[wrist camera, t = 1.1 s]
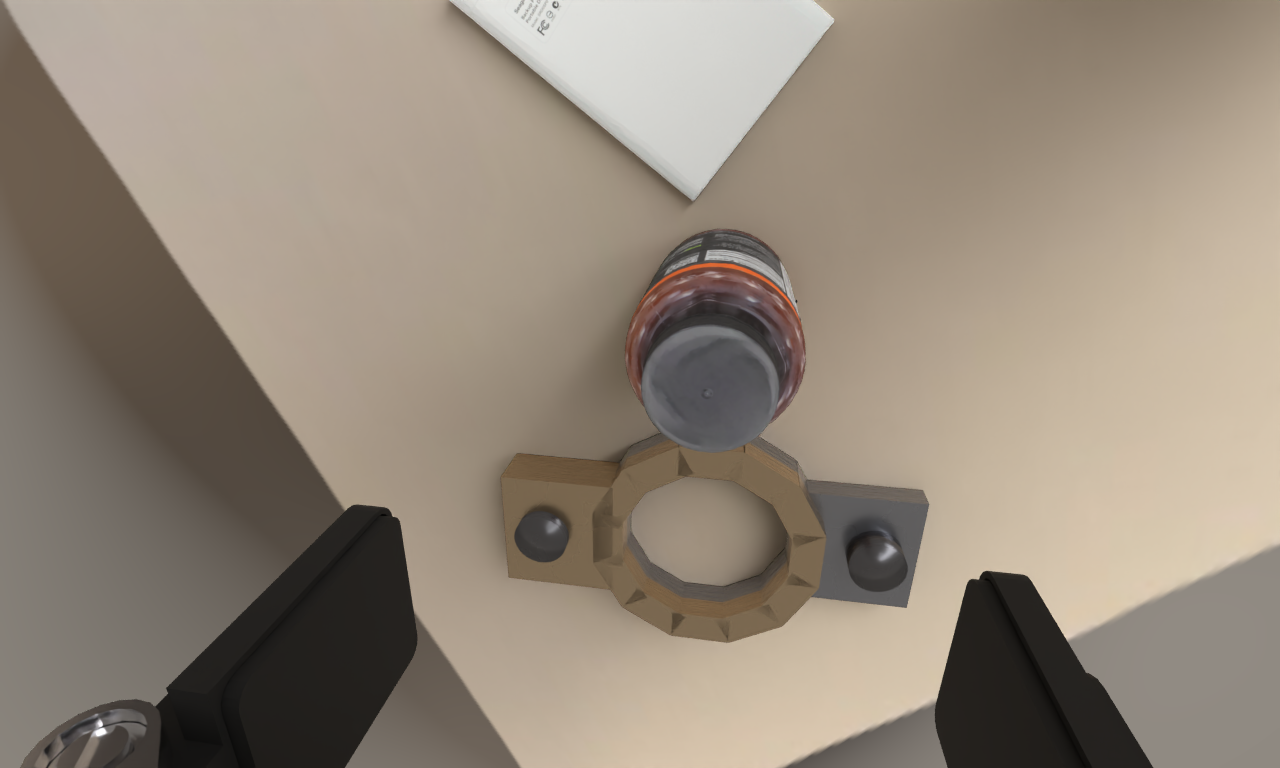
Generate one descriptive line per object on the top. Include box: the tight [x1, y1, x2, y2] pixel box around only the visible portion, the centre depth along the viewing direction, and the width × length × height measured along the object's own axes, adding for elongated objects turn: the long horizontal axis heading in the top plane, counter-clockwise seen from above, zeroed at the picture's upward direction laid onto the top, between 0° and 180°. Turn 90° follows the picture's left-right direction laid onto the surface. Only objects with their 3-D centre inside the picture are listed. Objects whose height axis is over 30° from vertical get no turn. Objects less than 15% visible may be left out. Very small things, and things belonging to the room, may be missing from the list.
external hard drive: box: [449, 0, 834, 201], centre depth 25 cm, size 2×8×12 cm
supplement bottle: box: [625, 229, 806, 453], centre depth 24 cm, size 6×6×11 cm
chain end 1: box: [501, 440, 826, 643], centre depth 33 cm, size 16×11×3 cm
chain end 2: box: [615, 433, 929, 608], centre depth 32 cm, size 16×11×2 cm
